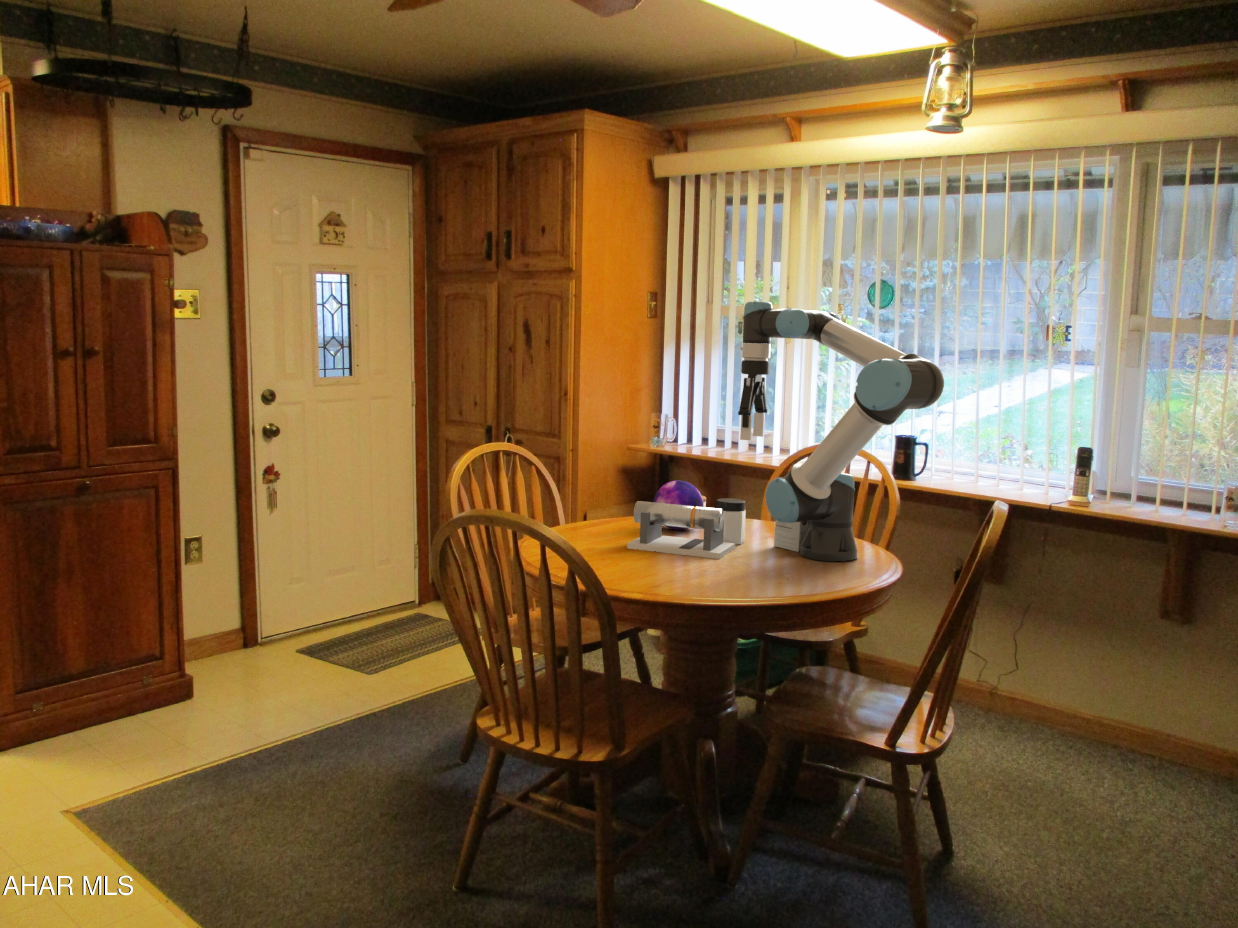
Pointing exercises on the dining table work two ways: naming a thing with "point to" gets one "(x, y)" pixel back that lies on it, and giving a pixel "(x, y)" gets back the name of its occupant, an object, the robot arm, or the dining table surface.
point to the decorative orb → (679, 496)
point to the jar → (733, 519)
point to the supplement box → (789, 534)
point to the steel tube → (679, 515)
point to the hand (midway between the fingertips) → (751, 438)
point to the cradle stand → (681, 540)
